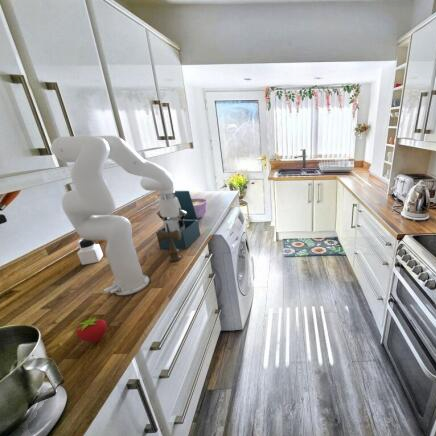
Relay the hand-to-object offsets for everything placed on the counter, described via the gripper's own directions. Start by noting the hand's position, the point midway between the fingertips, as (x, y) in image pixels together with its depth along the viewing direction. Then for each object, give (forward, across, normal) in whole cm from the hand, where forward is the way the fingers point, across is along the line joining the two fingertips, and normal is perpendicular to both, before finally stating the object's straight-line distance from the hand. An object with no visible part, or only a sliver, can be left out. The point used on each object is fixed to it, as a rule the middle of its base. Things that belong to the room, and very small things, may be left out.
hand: (174, 226), depth 132 cm
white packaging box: (+9, 0, 0) cm, 9 cm away
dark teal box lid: (-9, 0, +10) cm, 13 cm away
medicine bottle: (+11, -36, -18) cm, 42 cm away
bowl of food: (+11, -10, +42) cm, 45 cm away
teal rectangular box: (+11, 0, +3) cm, 11 cm away
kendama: (+11, +7, -17) cm, 21 cm away
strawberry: (+11, +9, -66) cm, 67 cm away
